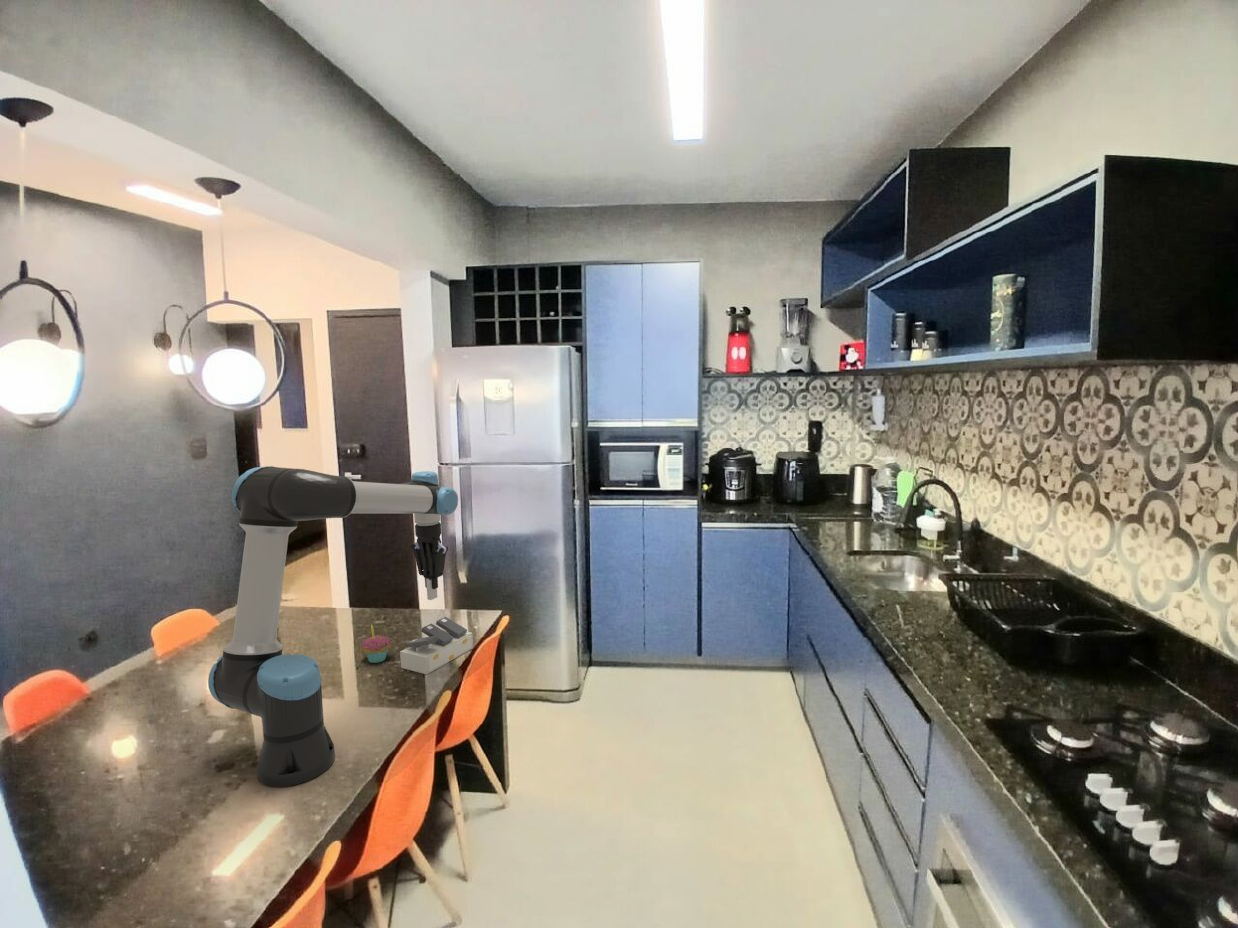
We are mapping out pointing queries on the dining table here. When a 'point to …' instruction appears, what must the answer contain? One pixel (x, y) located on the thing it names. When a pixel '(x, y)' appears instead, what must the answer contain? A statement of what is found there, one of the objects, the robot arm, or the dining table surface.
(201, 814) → the dining table surface
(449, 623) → the rocker
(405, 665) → the switch unit
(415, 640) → the rocker
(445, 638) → the block
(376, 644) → the cupcake
